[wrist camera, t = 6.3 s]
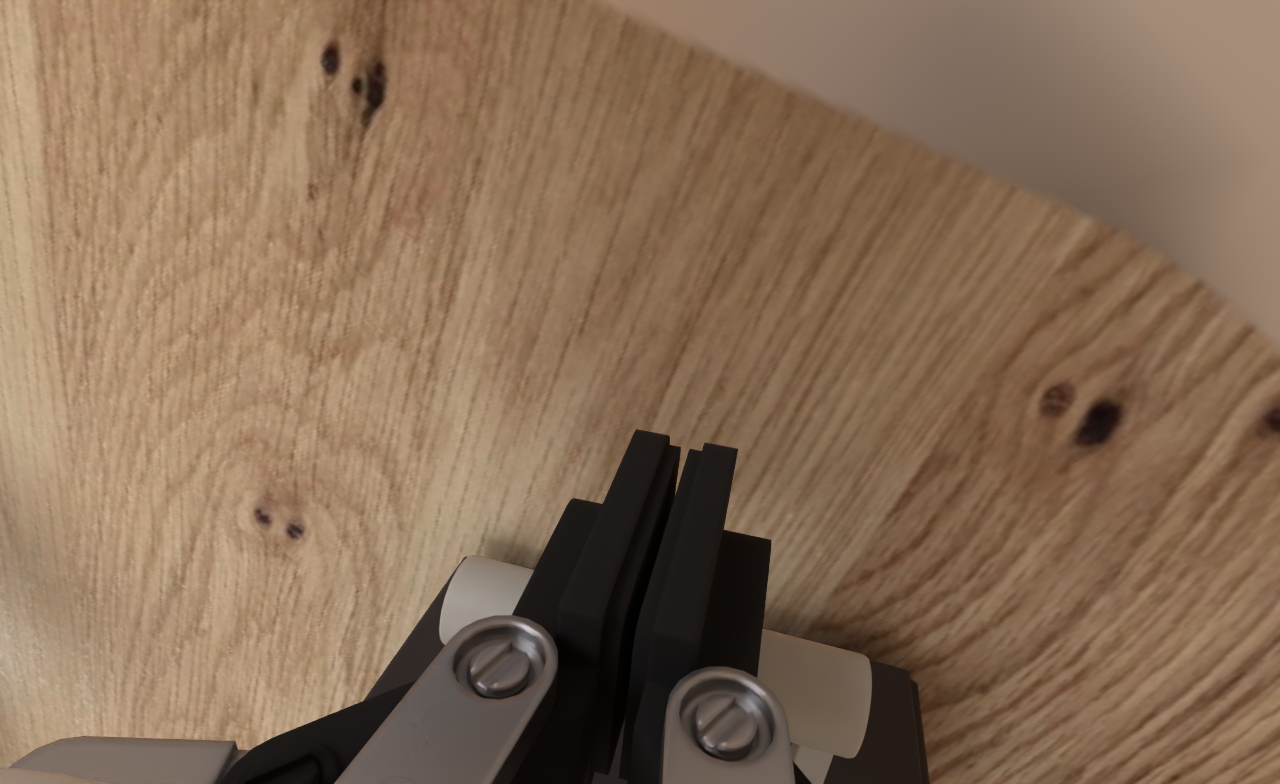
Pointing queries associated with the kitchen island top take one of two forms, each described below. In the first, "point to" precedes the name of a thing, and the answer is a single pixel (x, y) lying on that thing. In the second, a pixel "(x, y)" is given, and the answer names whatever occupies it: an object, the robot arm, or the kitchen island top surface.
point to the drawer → (790, 666)
